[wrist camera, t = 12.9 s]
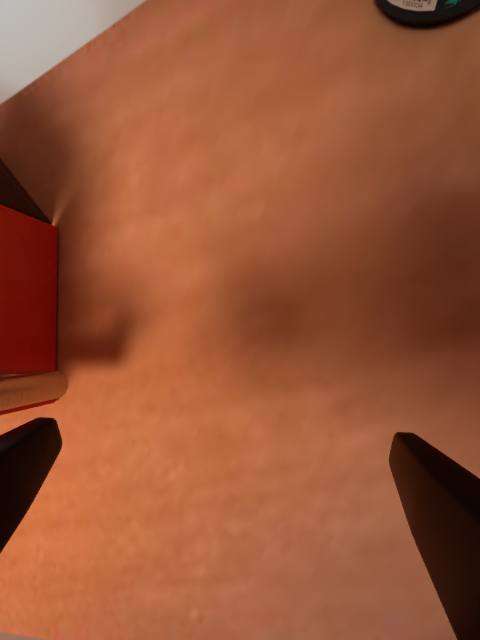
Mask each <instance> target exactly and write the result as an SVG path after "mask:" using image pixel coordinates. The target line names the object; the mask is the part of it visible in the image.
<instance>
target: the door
mask: <svg viewBox="0 0 480 640" xmlns="http://www.w3.org/2000/svg"><path fill="white" fill-rule="evenodd" d="M57 230H58V228H57V227H55V226H53V225H50V224H48V223H45V222H43V221H40V220H38V219H36V218H33V217H31V216H28V215H26V214H23V213H21V212H18V211H16V210H13V209H11V208H8V207H6V206H3V205H1V204H0V415H4V414H8V413H12V412H17V411H21V410H25V409H29V408H33V407H38V406H42V405H46V404H50V403H54V402H55V399H56V398H60V397H62V396H63V395H64V394H65V393H66V390H67V387H68V382H67V378H66V376H65V375H64V373H62V372H60V371H55V370H56V300H57Z"/></svg>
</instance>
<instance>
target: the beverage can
mask: <svg viewBox="0 0 480 640" xmlns="http://www.w3.org/2000/svg"><path fill="white" fill-rule="evenodd" d="M376 2H377V3H378V5H379V6H380V8H381V9H382V10H384V11H385V12H386V13H387V14H388V15H390V16H391V17H392V18H393V19H395V20H397V21H399V22H401V23H404V24H409V25H414V26H427V25H433V24H438V23H442V22H445V21H448V20H450V19H453V18H456V17H457V16H459V15H461V14H463V13H465V12H467V11H468V10H470V9H471V8H473V7H475V6H477V5H479V4H480V0H376Z"/></svg>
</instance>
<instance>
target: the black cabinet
mask: <svg viewBox="0 0 480 640" xmlns="http://www.w3.org/2000/svg"><path fill="white" fill-rule="evenodd" d="M0 204H1V205H3V206H6V207H8V208H11V209H13V210H16V211H18V212H21V213H23V214H26V215H28V216H31V217H33V218H36V219H38V220H40V221H43V222H45V223H48V224H50V225H51V222H50V221H49V220H48V218H47V217H46V216H45V215H44V213H43V212H42V211H41V209H40V208H39V207H38V206H37V204H36V203H35V202H34V201H33V199H32V198H31V197H30V196H29V194H28V193H27V192H26V191H25V189H24V188H23V187H22V186H21V184H20V183H19V182H18V180H17V179H16V178H15V177H14V175H13V174H12V173H11V172H10V170H9V169H8V168H7V167H6V165H5V164H4V163H3V162H2V160H1V159H0Z"/></svg>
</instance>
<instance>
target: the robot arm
mask: <svg viewBox="0 0 480 640" xmlns="http://www.w3.org/2000/svg"><path fill="white" fill-rule="evenodd" d="M61 448H62V438H61V435H60V431H59V428H58V424H57V421H56V420H55V419H54V418H45V417H40V418H36V419H34V420H32V421H30V422H27V423H25V424H23V425H21V426H19V427H17V428H15V429H13V430H11V431H9V432H7V433H4V434H2V435H0V553H1V552H2V550H3V548H4V547H5V545H6V544H7V542H8V541H9V539H10V538H11V536H12V535H13V533H14V532H15V530H16V528H17V527H18V525H19V524H20V522H21V521H22V519H23V518H24V516H25V514H26V513H27V511H28V510H29V508H30V506H31V504H32V503H33V501H34V499H35V497H36V495H37V494H38V492H39V490H40V488H41V486H42V484H43V482H44V481H45V479H46V477H47V475H48V473H49V471H50V469H51V468H52V466H53V464H54V462H55V460H56V458H57V456H58V455H59V453H60V451H61ZM389 465H390V468H391V472H392V475H393V478H394V481H395V484H396V487H397V490H398V493H399V496H400V499H401V502H402V506H403V509H404V512H405V515H406V518H407V521H408V524H409V527H410V530H411V532H412V535H413V537H414V540H415V542H416V545H417V547H418V549H419V552H420V554H421V556H422V559H423V561H424V563H425V566H426V568H427V570H428V573H429V575H430V577H431V580H432V582H433V584H434V587H435V589H436V591H437V594H438V596H439V598H440V601H441V603H442V605H443V608H444V610H445V612H446V615H447V617H448V619H449V622H450V624H451V626H452V628H453V631H454V633H455V635H456V638H457V640H480V479H479V478H478V477H477V476H475V475H474V474H472V473H471V472H469V471H468V470H466V469H465V468H464V467H462V466H461V465H459V464H458V463H456V462H455V461H453V460H452V459H451V458H449V457H448V456H446V455H445V454H443V453H442V452H440V451H439V450H438V449H436V448H435V447H433V446H432V445H430V444H429V443H427V442H426V441H425V440H423V439H422V438H420V437H419V436H417V435H416V434H414V433H408V432H397V433H395V435H394V437H393V442H392V446H391V450H390V455H389Z"/></svg>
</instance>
